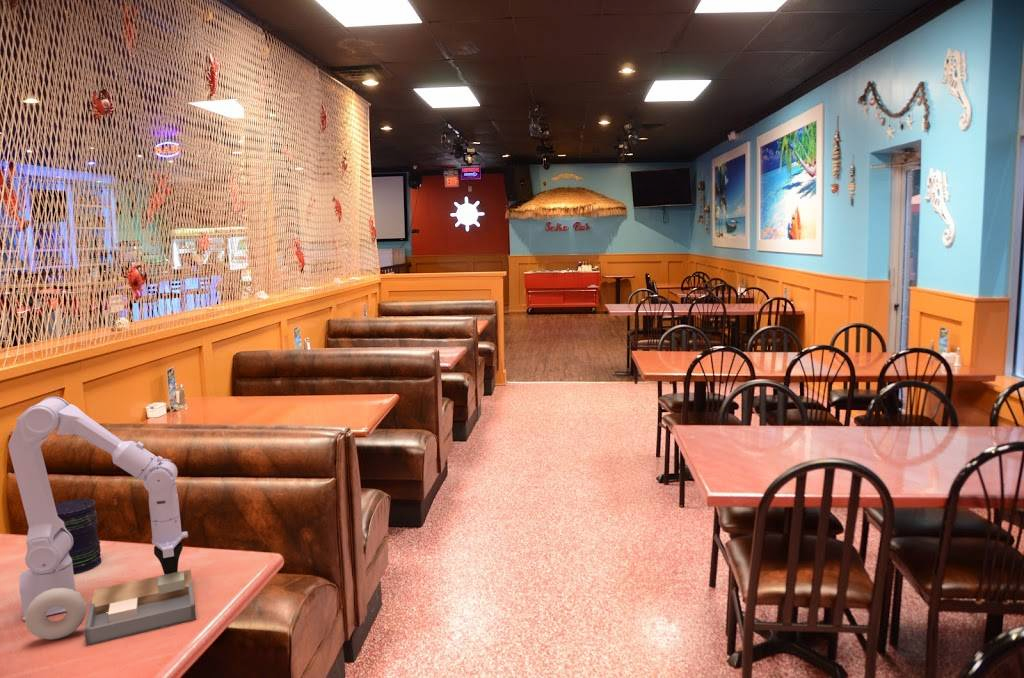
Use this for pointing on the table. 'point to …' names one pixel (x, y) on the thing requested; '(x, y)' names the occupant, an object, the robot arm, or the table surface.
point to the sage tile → (171, 582)
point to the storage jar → (81, 532)
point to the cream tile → (123, 610)
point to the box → (141, 618)
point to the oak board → (135, 592)
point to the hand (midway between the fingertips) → (171, 576)
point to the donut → (60, 628)
